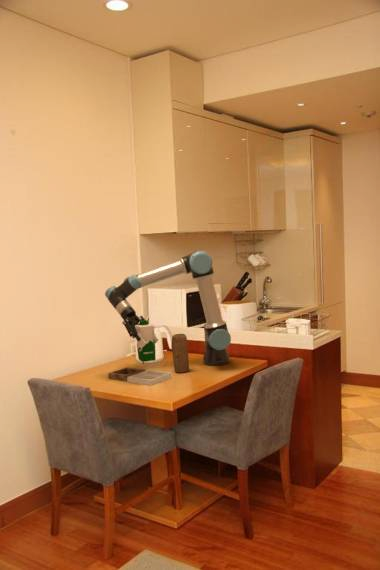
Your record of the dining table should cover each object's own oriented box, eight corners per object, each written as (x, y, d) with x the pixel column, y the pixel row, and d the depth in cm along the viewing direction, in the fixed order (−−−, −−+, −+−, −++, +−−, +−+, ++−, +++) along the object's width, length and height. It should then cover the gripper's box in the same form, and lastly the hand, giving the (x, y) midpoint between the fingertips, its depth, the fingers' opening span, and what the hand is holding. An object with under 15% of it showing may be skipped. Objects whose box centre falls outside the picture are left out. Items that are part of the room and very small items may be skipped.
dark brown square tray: (146, 375, 289) (145, 369, 289) (128, 381, 278) (127, 375, 278) (127, 372, 298) (126, 367, 297) (108, 378, 286) (108, 373, 286)
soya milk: (152, 357, 283) (150, 319, 282) (158, 360, 275) (155, 321, 273) (136, 359, 280) (134, 321, 279) (141, 362, 272) (139, 323, 270)
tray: (171, 377, 280) (171, 372, 280) (151, 385, 267) (150, 380, 267) (148, 374, 290) (147, 370, 290) (127, 382, 277) (127, 377, 277)
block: (190, 372, 290) (187, 335, 288) (176, 374, 288) (174, 336, 286) (185, 368, 300) (183, 332, 299) (172, 369, 298) (169, 333, 297)
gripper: (136, 313, 294) (161, 344, 286) (107, 319, 276) (132, 352, 268) (143, 303, 290) (168, 334, 282) (114, 309, 273) (140, 342, 265)
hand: (150, 343), depth 275 cm, fingers closed on soya milk, 9 cm apart
